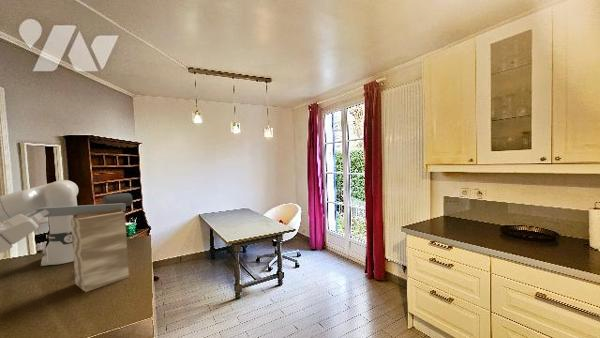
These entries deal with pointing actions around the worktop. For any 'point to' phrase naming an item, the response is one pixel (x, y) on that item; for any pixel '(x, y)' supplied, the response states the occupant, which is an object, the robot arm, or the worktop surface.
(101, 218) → the tan streaked block
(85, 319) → the worktop surface
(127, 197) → the rubber mallet
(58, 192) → the robot arm
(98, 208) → the grey bar
